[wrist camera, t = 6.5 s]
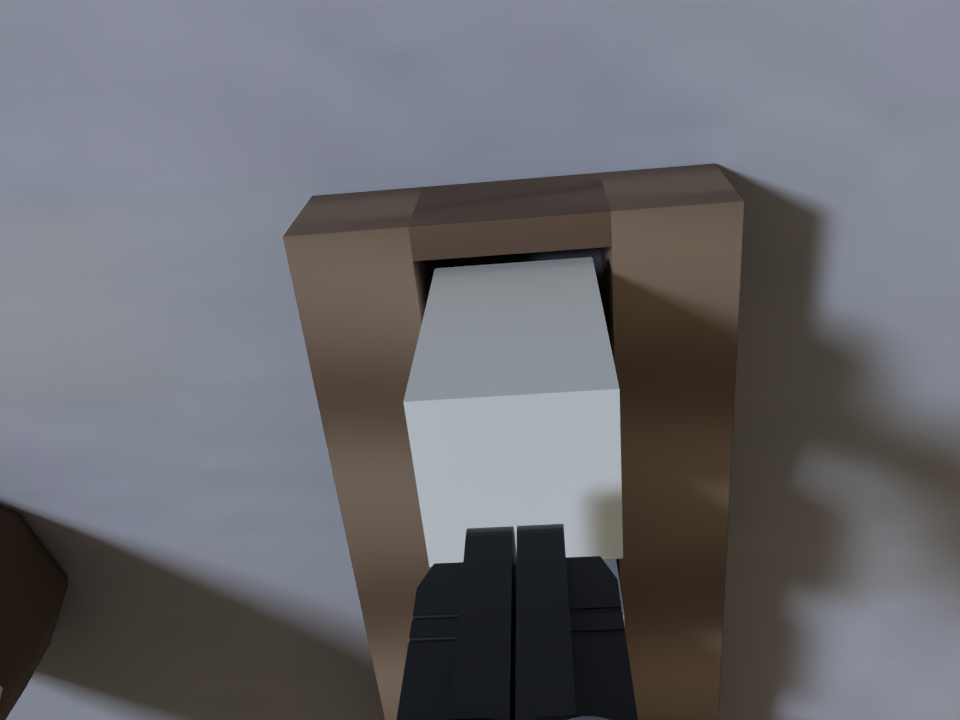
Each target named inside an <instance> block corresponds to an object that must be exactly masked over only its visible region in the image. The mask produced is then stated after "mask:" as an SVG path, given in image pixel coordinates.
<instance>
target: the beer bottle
mask: <svg viewBox="0 0 960 720" xmlns="http://www.w3.org/2000/svg"><path fill="white" fill-rule="evenodd" d="M66 588H67V576H66V575H65V574H64V572H63V571H62V570H61V568H60V567H59V566H58V565H57V563H56V562H55V561H54V559H53V558H52V557H51V555H50V554H49V553H48V551H47V550H46V549H45V547H44V546H43V545H42V543H41V542H40V541H39V539H38V538H37V537H36V535H35V534H34V533H33V531H32V530H31V529H30V527H29V526H28V525H27V523H26V522H25V521H24V519H23V518H22V517H21V516H20V514H19V513H17V512H14V511H11V510H8V509H6V508H3V507H0V720H5V719H6V718H7V716H8V715H9V713H10V711H11V710H12V708H13V707H14V705H15V704H16V702H17V700H18V699H19V697H20V696H21V694H22V692H23V691H24V689H25V688H26V686H27V684H28V682H29V680H30V679H31V677H32V675H33V673H34V671H35V669H36V668H37V666H38V664H39V662H40V660H41V659H42V657H43V655H44V653H45V651H46V649H47V648H48V646H49V644H50V640H51V637H52V634H53V631H54V627H55V624H56V621H57V618H58V614H59V611H60V608H61V605H62V601H63V598H64V595H65V592H66Z"/></svg>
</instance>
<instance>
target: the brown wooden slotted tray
mask: <svg viewBox="0 0 960 720" xmlns="http://www.w3.org/2000/svg"><path fill="white" fill-rule="evenodd" d="M743 216H744V200H743V199H742V198H741V196H740V195H739V194H738V192H737V191H736V190H735V188H734V187H733V186H732V184H731V183H730V182H729V180H728V179H727V178H726V176H725V175H724V174H723V173H722V171H721V170H720V169H719V167H718V166H717V165H716V164H705V165H692V166H680V167H667V168H655V169H643V170H630V171H618V172H605V173H593V174H581V175H568V176H556V177H544V178H531V179H519V180H506V181H494V182H482V183H469V184H457V185H444V186H432V187H420V188H407V189H395V190H382V191H370V192H358V193H345V194H333V195H321V196H312V197H311V198H310V200H309V201H308V203H307V204H306V205H305V207H304V208H303V210H302V211H301V212H300V214H299V215H298V217H297V218H296V219H295V221H294V222H293V223H292V225H291V226H290V228H289V229H288V230H287V232H286V233H285V235H284V236H283V239H284V244H285V249H286V254H287V258H288V263H289V268H290V272H291V277H292V282H293V287H294V291H295V296H296V301H297V306H298V310H299V315H300V320H301V325H302V329H303V334H304V339H305V343H306V348H307V353H308V358H309V362H310V367H311V372H312V377H313V381H314V386H315V391H316V396H317V400H318V405H319V410H320V415H321V419H322V424H323V429H324V433H325V438H326V443H327V448H328V452H329V457H330V462H331V467H332V471H333V476H334V481H335V486H336V490H337V495H338V500H339V504H340V509H341V514H342V519H343V523H344V528H345V533H346V538H347V542H348V547H349V552H350V557H351V561H352V566H353V571H354V576H355V580H356V585H357V590H358V594H359V599H360V604H361V609H362V613H363V618H364V623H365V628H366V632H367V637H368V642H369V647H370V651H371V656H372V661H373V665H374V670H375V675H376V680H377V684H378V689H379V694H380V699H381V703H382V708H383V713H384V718H385V720H396V719H397V713H398V706H399V700H400V694H401V687H402V681H403V674H404V668H405V662H406V655H407V649H408V643H409V641H410V639H409V636H410V629H411V623H412V620H413V610H414V604H415V597H416V591H417V587H418V586H419V584H420V583H421V581H422V580H423V579H424V577H425V576H426V574H427V573H428V572H429V570H430V569H431V567H429V562H428V556H427V549H426V543H425V537H424V530H423V524H422V517H421V511H420V505H419V498H418V492H417V486H416V479H415V473H414V467H413V460H412V454H411V448H410V441H409V435H408V429H407V422H406V416H405V410H404V403H403V401H404V397H405V393H406V388H407V384H408V380H409V376H410V371H411V367H412V363H413V359H414V354H415V350H416V346H417V342H418V337H419V333H420V329H421V325H422V321H423V316H424V312H425V308H426V304H427V299H428V295H429V291H430V287H431V282H432V278H433V269H432V261H431V260H438V259H452V258H465V257H479V256H492V255H506V254H520V253H533V252H547V251H560V250H574V249H587V248H601V247H602V271H603V305H604V316H605V321H606V326H607V330H608V335H609V340H610V345H611V350H612V355H613V360H614V365H615V369H616V374H617V379H618V384H619V389H620V436H621V482H622V529H623V558H621V559H616V562H617V569H618V575H619V582H620V589H621V596H622V603H623V609H624V623H625V635H626V641H627V648H628V655H629V661H630V668H631V675H632V682H633V689H634V696H635V703H636V710H637V717H638V720H718V711H719V691H720V671H721V652H722V632H723V612H724V592H725V572H726V553H727V533H728V513H729V493H730V473H731V454H732V434H733V414H734V394H735V375H736V355H737V335H738V315H739V295H740V276H741V256H742V236H743Z"/></svg>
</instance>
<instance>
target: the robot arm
mask: <svg viewBox="0 0 960 720" xmlns="http://www.w3.org/2000/svg"><path fill="white" fill-rule="evenodd" d="M409 639H410V641H409V643H408V649H407V655H406V662H405V668H404V674H403V681H402V687H401V694H400V700H399V706H398V713H397V719H396V720H638V717H637V710H636V703H635V696H634V689H633V682H632V675H631V668H630V661H629V655H628V648H627V641H626V635H625V627H624V620H623V613H622V606H621V599H620V592H619V585H618V579H617V578H616V576H615V575H614V574H613V572H612V571H611V570H610V568H609V567H608V566H607V564H606V563H605V562H604V560H603V559H602V558H601V556H591V557H568V558H566V554H565V540H564V525H563V524H547V525H525V526H517V553H516V542H515V533H514V527H513V526H508V527H487V528H468V529H467V530H466V538H465V549H464V560H463V562H458V563H435V564H433V566H432V567H431V569H430V570H429V572H428V573H427V574H426V576H425V577H424V579H423V580H422V581H421V583H420V584H419V586H418V587H417V591H416V597H415V604H414V610H413V620H412V623H411V629H410V636H409Z"/></svg>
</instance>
